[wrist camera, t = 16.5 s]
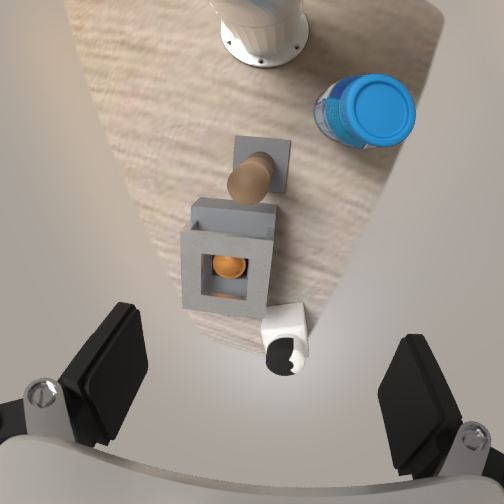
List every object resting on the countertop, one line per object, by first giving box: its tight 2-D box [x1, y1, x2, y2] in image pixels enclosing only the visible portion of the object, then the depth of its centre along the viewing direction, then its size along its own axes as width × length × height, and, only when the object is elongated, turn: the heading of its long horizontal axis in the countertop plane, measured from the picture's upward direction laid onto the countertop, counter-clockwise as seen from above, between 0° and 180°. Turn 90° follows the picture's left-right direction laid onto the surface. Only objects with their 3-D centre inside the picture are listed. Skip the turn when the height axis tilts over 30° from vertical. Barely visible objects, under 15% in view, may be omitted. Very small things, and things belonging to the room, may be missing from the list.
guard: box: [181, 219, 275, 319], centre depth 44 cm, size 12×12×5 cm
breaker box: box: [191, 198, 277, 297], centre depth 49 cm, size 16×12×5 cm
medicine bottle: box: [261, 302, 309, 376], centre depth 50 cm, size 7×7×12 cm
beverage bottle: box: [314, 73, 416, 149], centre depth 32 cm, size 8×8×20 cm
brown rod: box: [227, 152, 274, 205], centre depth 37 cm, size 4×4×16 cm
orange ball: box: [213, 255, 246, 279], centre depth 48 cm, size 5×5×6 cm
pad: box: [233, 136, 290, 193], centre depth 45 cm, size 8×8×1 cm
